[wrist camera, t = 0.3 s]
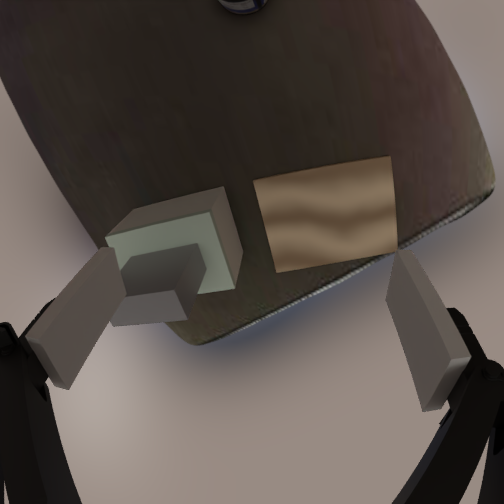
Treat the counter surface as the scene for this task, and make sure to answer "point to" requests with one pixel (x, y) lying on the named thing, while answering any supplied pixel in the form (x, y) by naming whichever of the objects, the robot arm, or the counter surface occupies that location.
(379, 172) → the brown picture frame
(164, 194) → the counter surface
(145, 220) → the storage box
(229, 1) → the pill bottle
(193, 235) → the green base grey block
